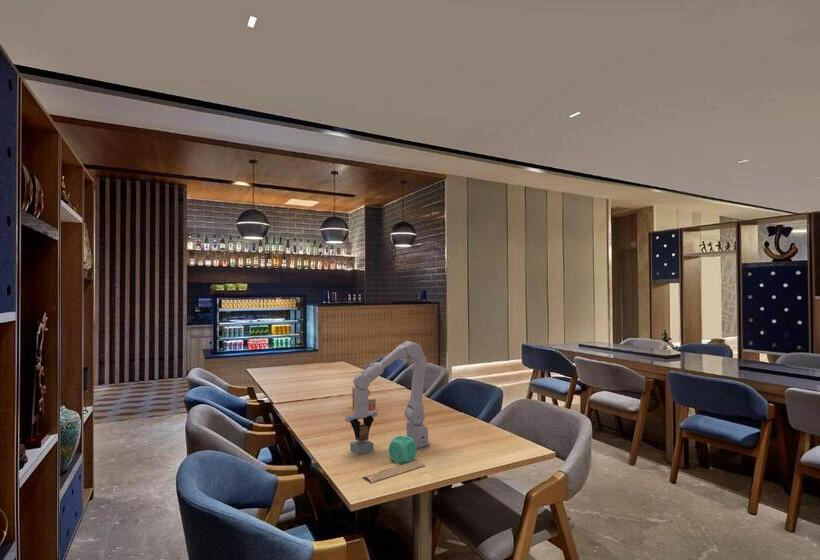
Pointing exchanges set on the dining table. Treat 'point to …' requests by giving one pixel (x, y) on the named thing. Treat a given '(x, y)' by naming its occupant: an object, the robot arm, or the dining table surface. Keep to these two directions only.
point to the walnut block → (363, 433)
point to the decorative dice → (402, 449)
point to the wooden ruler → (394, 471)
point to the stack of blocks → (370, 400)
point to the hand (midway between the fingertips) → (361, 436)
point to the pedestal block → (361, 447)
